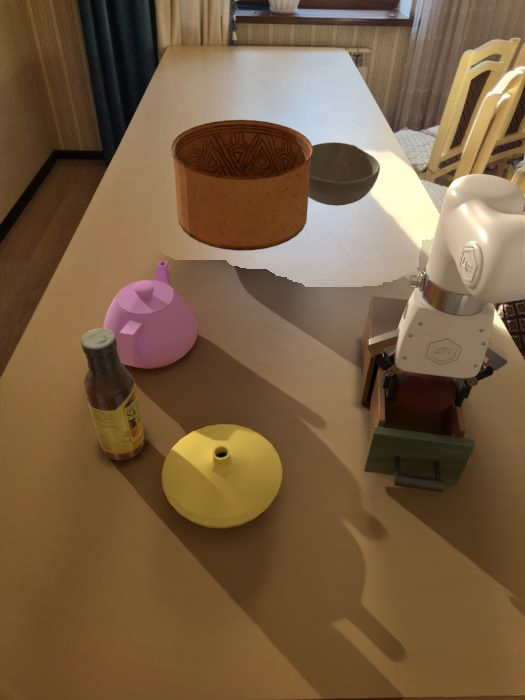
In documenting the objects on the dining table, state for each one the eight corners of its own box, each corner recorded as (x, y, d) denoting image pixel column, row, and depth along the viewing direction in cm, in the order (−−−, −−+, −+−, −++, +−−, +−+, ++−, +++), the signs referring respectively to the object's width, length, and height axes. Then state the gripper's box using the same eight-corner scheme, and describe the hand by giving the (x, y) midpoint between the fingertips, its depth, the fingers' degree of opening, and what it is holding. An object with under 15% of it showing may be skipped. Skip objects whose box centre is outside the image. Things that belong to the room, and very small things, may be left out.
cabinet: (450, 415, 82) (468, 368, 75) (360, 404, 84) (370, 357, 77) (441, 351, 93) (457, 305, 86) (362, 342, 94) (371, 295, 87)
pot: (263, 286, 106) (265, 191, 92) (153, 244, 116) (141, 153, 102) (326, 226, 123) (336, 138, 109) (226, 194, 133) (224, 110, 120)
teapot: (181, 394, 84) (174, 336, 76) (85, 383, 86) (68, 325, 77) (210, 307, 100) (207, 252, 92) (129, 299, 102) (119, 244, 93)
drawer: (460, 513, 69) (480, 475, 64) (363, 499, 70) (373, 461, 65) (447, 408, 82) (462, 370, 76) (365, 398, 83) (373, 360, 78)
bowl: (275, 203, 131) (276, 163, 124) (318, 173, 143) (321, 135, 136) (349, 228, 122) (355, 187, 116) (387, 195, 135) (395, 155, 128)
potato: (432, 436, 69) (444, 404, 65) (377, 404, 73) (384, 372, 69) (458, 404, 73) (470, 372, 69) (405, 375, 77) (413, 343, 73)
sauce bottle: (146, 460, 75) (124, 356, 62) (100, 465, 74) (68, 362, 61) (146, 423, 80) (125, 320, 66) (102, 428, 79) (73, 325, 66)
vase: (271, 548, 66) (272, 518, 61) (147, 526, 68) (139, 496, 63) (289, 446, 77) (291, 414, 73) (182, 429, 79) (178, 397, 74)
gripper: (377, 300, 58) (356, 408, 70) (544, 318, 57) (494, 425, 68) (377, 262, 64) (357, 368, 76) (529, 277, 62) (485, 383, 74)
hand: (422, 394), depth 72 cm, fingers closed on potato, 8 cm apart
